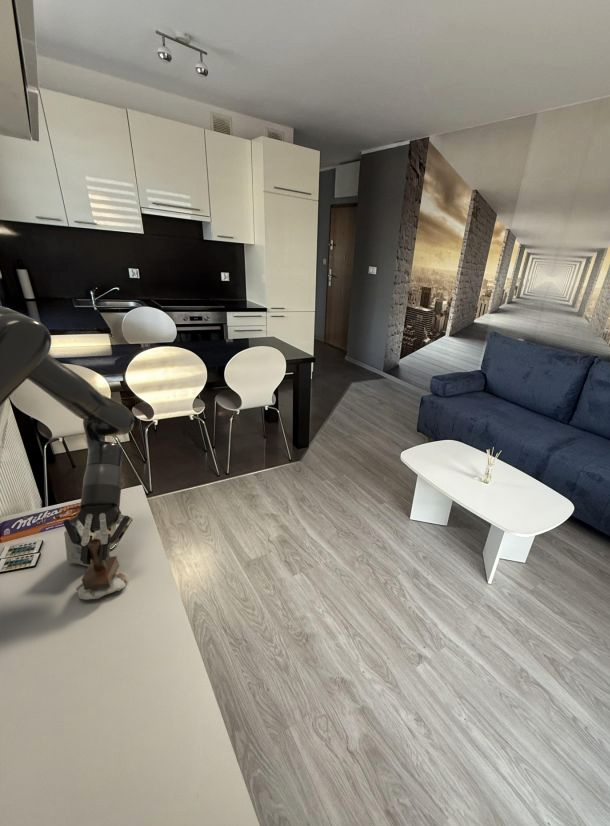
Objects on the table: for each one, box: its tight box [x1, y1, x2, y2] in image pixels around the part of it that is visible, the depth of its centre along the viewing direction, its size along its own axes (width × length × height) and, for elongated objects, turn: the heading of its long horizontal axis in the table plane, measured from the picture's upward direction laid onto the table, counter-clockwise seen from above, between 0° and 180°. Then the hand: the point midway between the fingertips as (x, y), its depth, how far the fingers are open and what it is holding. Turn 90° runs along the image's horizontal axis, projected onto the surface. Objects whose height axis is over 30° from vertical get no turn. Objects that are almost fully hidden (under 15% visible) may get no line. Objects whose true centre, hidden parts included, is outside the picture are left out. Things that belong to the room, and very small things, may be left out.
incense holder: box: [63, 519, 119, 568], centre depth 99 cm, size 10×8×10 cm
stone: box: [75, 571, 128, 601], centre depth 90 cm, size 10×7×3 cm
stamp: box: [81, 539, 120, 590], centre depth 88 cm, size 5×7×10 cm
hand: (94, 563), depth 86 cm, fingers closed on stamp, 2 cm apart
